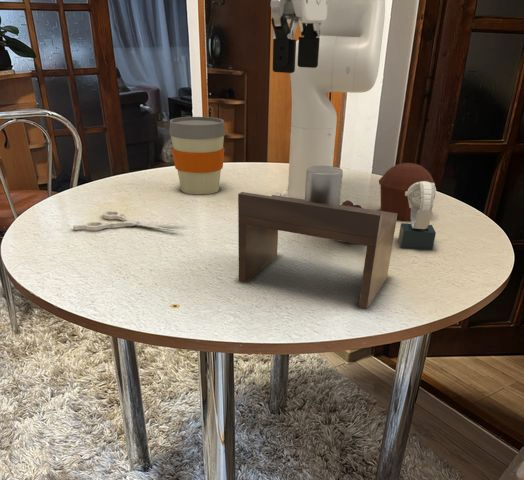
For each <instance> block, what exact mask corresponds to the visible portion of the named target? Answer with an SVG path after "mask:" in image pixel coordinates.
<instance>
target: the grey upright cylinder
mask: <svg viewBox="0 0 524 480" xmlns="http://www.w3.org/2000/svg"><path fill="white" fill-rule="evenodd" d="M343 174H344V173H343V169H342V168H340V167H338V166H337V167H336V166H333V167H332V166H312V167H308V168H307V172H306V188H305V201H306V202H313V203H320V204H327V205H333V206H339V205H340V203H341V202H340V201H341V193H342V183H343Z"/></svg>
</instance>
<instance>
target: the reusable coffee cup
mask: <svg viewBox="0 0 524 480" xmlns="http://www.w3.org/2000/svg"><path fill="white" fill-rule="evenodd" d="M225 127H226V126H225V120H224V119H221V118H217V117H212V116H211V117H210V116H183V117H182V116H181V117H175V118H171V119H170V120H169V134H168V135H169V136H170V138H171V142H172V147H171V152H172V159H173V164H174V169H175V170H177V175H178V182H179V186H180V190H181V192H183V193H185V194H188V195H189V194H190V195H210V194H214V193H217V192H219V190H220V182H221V173H222V172H221V171H222V169H223V168H224V159H225V149H226V148H225V146H224V141H225V136H226V128H225Z"/></svg>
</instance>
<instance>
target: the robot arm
mask: <svg viewBox="0 0 524 480" xmlns="http://www.w3.org/2000/svg"><path fill="white" fill-rule="evenodd" d="M270 10H271V19H270V20H271V25H272V28H273V29H272V32H271V36H272V71H273V72H274V73H285V74H289V78H290V88H291V116H290V139H289V157H288V159H289V161H288V181H287V182H288V183H287V189H286V190H284V191H282V192H280V196H284V197H291V198H297V199H304V200H305V188H306V172H307V168H308V167H312V166H332V167H334V159H335V158H334V156H335V146H336V136H337V124H338V114H337V111H336V108H335V107H334V105H333V103H332V102H331V100H330V98H329V97H328V96H327V93H350V94H351V93H353V94H354V93H356V94H357V93H358V94H359V93H362V94H363V93H366V92H368V91H369V92H370V90H372V88H374V86H375V84H376V81H377V78H378V75H379V68H380V62H381V52H382V45H383V44H382V43H383V36H384V34H383V33H384V27H385V17H386V0H270ZM298 26H299V30H300V34H301V36H299V37H298V39H295V34H296V31H297V27H298Z"/></svg>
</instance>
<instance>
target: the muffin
mask: <svg viewBox="0 0 524 480" xmlns="http://www.w3.org/2000/svg"><path fill="white" fill-rule="evenodd" d="M421 181H426V182H430V183H434V184H435V185H436V182H435V180H434V178H433V176H432V174H431V173H430V172H429V171H428V170H427V169H426V168H425V167H423V166H422V165H420V164H418V163H414V162H402V163H398V164H395V165H393V166H392V167H390V168H388V169H387V170H386V171H385V173H384V174H383V175H382V176H381V177H380V178H379V179H378V183H379V187H380V188H379V189H380V191H379V192H380V211H385V212H392V213H397V220H398V221H411V212H412V211H411V208H409V201H408V196H405V192H406V191H408V189H409V187H410V186H411V185H413V184H415V183H417V182H421ZM416 214H417V213H416ZM397 220H396V221H397Z"/></svg>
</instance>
